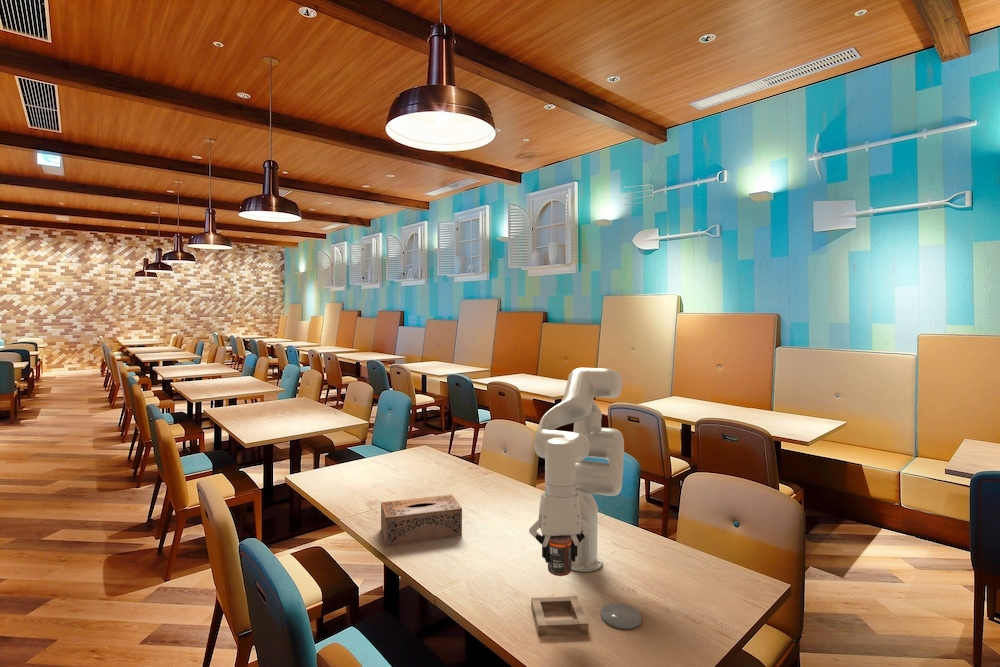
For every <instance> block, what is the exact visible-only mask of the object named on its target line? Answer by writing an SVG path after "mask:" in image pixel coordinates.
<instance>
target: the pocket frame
mask: <svg viewBox="0 0 1000 667" xmlns="http://www.w3.org/2000/svg"><path fill="white" fill-rule="evenodd" d="M530 600H531V602H530V603H531V604H530V605H531V606H530V609H531V612H532V615H533V619H534V623H535V628H536V632H537V636H538V637H548V636H550V637H551V636H568V635H569V636H570V635H571V636H572V635H588V634H589V622H588V620H587V618H586V615H585V613H584V610H583V607H582V606H581V602H579V599H578V597H577V595H570V596H548V597H547V596H546V597H545V596H544V597H531V598H530ZM558 611H559V612H560V611H562V612H563V611H570V612H571V615H572V617H573V618H572V619H550V620H549V619H548V620H547V619H546V618H545V614H544V612H558Z"/></svg>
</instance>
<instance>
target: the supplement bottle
mask: <svg viewBox="0 0 1000 667" xmlns="http://www.w3.org/2000/svg"><path fill="white" fill-rule="evenodd" d="M548 546H549V562H548V563H547V570H548V572H549V573H550V575H553V576H557V577H566V576H568V575H569V574H571V573H572V570H571V568H572V540H571V536H570V535H569V536H564V535H560V536H551V537H550V539H549V542H548Z"/></svg>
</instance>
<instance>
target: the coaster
mask: <svg viewBox="0 0 1000 667" xmlns="http://www.w3.org/2000/svg"><path fill="white" fill-rule="evenodd" d="M600 617H601V620H602V621H603V622H604V623H605V624H606V625H608V626H610V627H612V628H614V629H618V630H633V629H637V628H638V627H639V626H641V624H642V614H641V613H640V611H639V610H638V609H636V608H635V607H633V606H631V605H628V604H624V603H620V602H615V603H614V602H612V603H609V604H605V605H604V606H603V607H602V608H601V609H600Z"/></svg>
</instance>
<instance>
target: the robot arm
mask: <svg viewBox="0 0 1000 667" xmlns="http://www.w3.org/2000/svg"><path fill="white" fill-rule="evenodd" d="M623 383H624V382H623V377H622V375H621V373H620V372H619V371H617V370H614V369H612V368H601V367H578V368H575V369H573V370H572V371H571V372H570V373H569V374H568V377H567V382H566V386H565V390H564V394H563V398H562V401H561V402H559V403H557V404H556V405H554V406H553V407H552V408H550V409H549V410H547V411H546V412H545V413H544V415H542V417H541V419H540V421H539V424H538V427H537V431H536V433H535V436H534V442H533V449H534V451H535V454H536V455H537V456H538V457H539V458H542V459H544V461H545V462H544V463H545V464H544V470H545V471H544V474H545V475H544V491H542V492H541V494H540V499H539V500H540V501H539V508H538V519H537V520H536V521H535V523H534V524H533V525H532V526H530V527H529V529H528V531H529V532H528V533H529V534H530V535H531V536H532V537H533V538H535V539H536V541H537V542H538V544H540V545H541V556H542V559H544V560H545V564H548V562H549V546H548V542H549V539H550V537H551V536H560V535H564V536H569V535H570V536H571V540H572V568H571V571H575V572H581V573H590V572H594V571H597V570H599V569H600V568H602V566H603V559H602V557H601V556H600V555H599V554H598V529H599V528H598V525H599V524H598V523H599V522H598V520H599V518H598V517H599V516H598V515H599V508H598V503H597V502H596V499H595V498H594V497H593V495H599V496H600V495H601V496H607V497H608V496H609V497H610V496H611V497H615V496H618V495H619V494H620V493H621V490H622V487H623V476H624V474H623V472H624V456H625V454H624V453H625V439H624V435H623V433H622V432H621V431H620V430H619V429H616V428H611V427H602V417H603V416H602V415H603V413H602V410H601V409H600V407H599V406H598V404H597V403H596V402H595V401H594V400H595V399H594V398H603V399H604V398H605V399H617V398H619V397H620V396H621V394H622V391H623V385H624V384H623ZM570 424H573V431H567V430H558V428H560V427H562V426H567V425H570ZM556 429H557V430H556ZM586 458H594V459H605V460H607V461H608V462H602V461H593V460H585V459H586ZM539 529H540V532H541V534H540V533H539V532H538V530H539Z"/></svg>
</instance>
